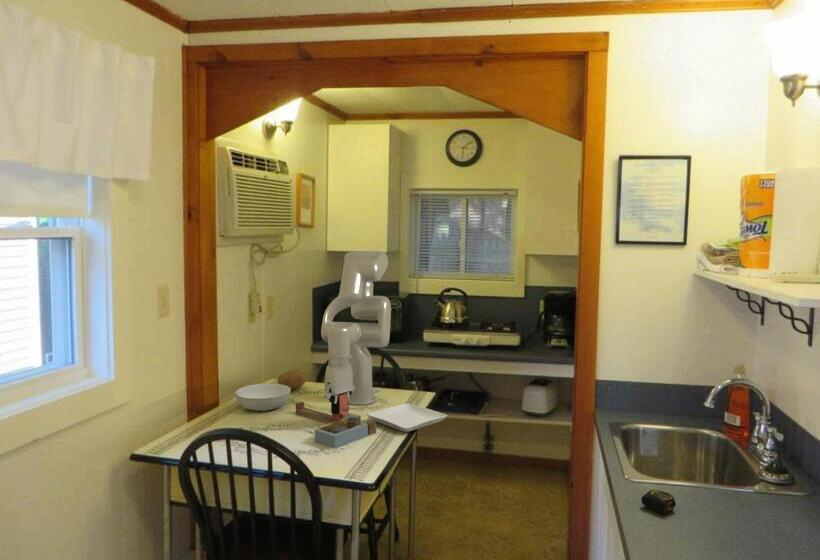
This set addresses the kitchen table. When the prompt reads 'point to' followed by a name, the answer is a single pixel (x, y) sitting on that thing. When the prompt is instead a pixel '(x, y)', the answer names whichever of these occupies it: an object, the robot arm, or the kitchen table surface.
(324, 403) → the kitchen table surface
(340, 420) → the toy block assembly
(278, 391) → the serving bowl
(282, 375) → the potato
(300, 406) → the rail
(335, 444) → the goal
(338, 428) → the puck
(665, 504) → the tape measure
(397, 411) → the salad plate
